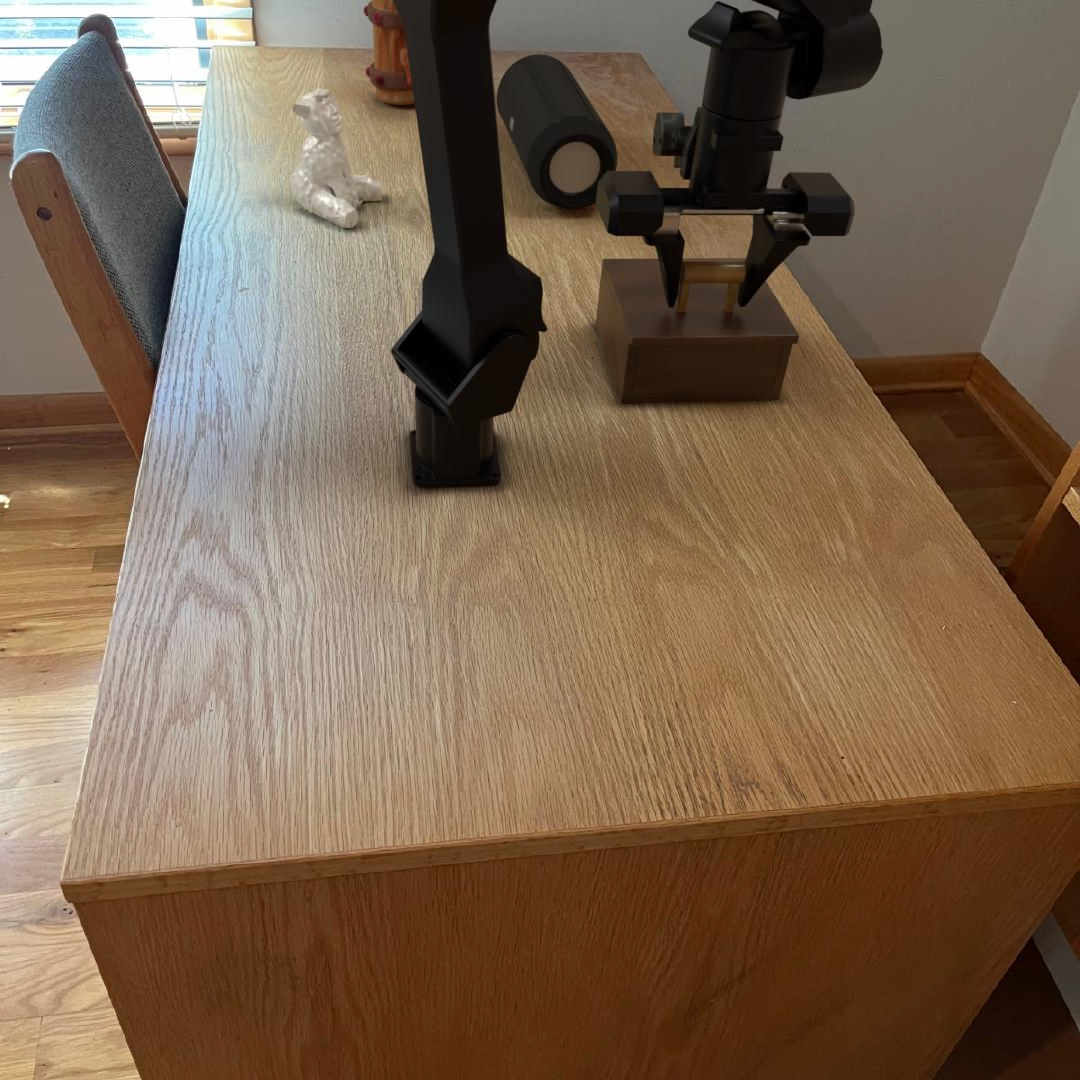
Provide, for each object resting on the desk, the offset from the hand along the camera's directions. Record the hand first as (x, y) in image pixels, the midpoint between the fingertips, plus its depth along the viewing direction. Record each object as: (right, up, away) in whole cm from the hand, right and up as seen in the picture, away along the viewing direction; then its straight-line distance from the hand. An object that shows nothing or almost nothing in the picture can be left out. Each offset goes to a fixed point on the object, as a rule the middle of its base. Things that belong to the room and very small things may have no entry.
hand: (705, 304), depth 83 cm
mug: (-31, +37, +50) cm, 70 cm away
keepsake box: (-1, -3, +7) cm, 8 cm away
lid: (0, +1, +3) cm, 3 cm away
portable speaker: (-12, +24, +37) cm, 46 cm away
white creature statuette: (-36, +16, +26) cm, 47 cm away
